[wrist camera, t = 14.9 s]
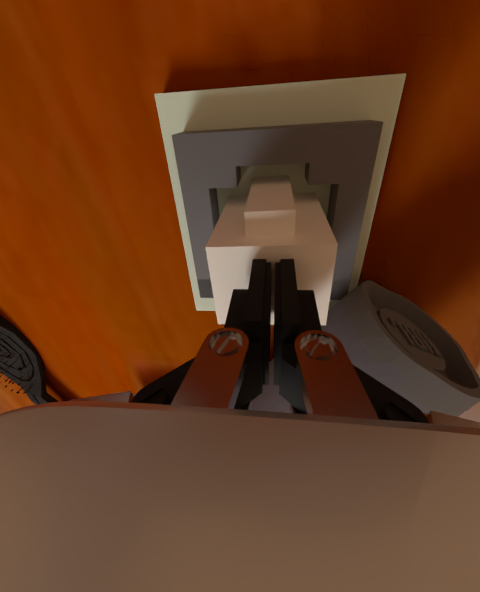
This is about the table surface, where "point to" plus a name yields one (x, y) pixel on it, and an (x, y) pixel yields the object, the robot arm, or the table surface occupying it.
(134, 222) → the table surface
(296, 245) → the keyed plug
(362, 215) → the socket board
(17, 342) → the hairbrush
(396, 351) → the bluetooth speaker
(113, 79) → the table surface
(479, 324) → the table surface
